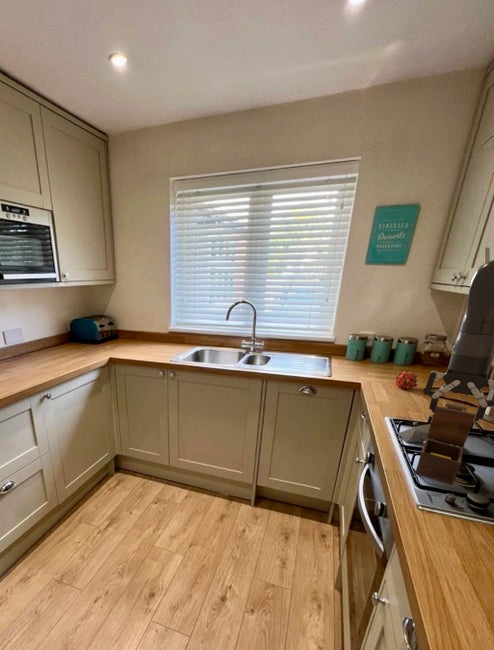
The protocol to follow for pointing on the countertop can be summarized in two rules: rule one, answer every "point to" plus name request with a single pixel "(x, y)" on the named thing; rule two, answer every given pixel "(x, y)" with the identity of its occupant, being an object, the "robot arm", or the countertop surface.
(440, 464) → the chest
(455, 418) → the lid
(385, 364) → the countertop surface
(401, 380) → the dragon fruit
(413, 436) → the paper boat
